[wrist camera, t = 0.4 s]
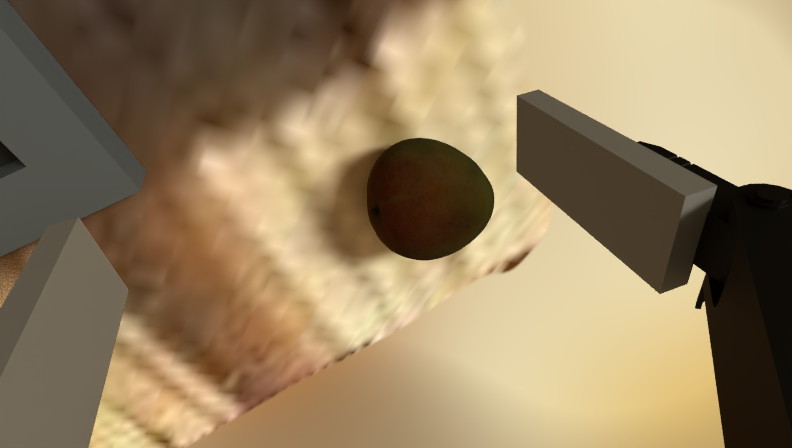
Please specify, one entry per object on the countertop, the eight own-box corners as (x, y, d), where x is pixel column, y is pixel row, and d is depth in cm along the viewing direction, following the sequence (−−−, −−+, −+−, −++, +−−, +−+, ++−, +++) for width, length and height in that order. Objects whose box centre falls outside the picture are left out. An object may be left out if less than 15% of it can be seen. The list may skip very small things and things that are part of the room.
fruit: (356, 123, 41) (387, 171, 33) (481, 116, 45) (537, 158, 37) (355, 231, 48) (381, 293, 40) (465, 217, 51) (509, 272, 43)
